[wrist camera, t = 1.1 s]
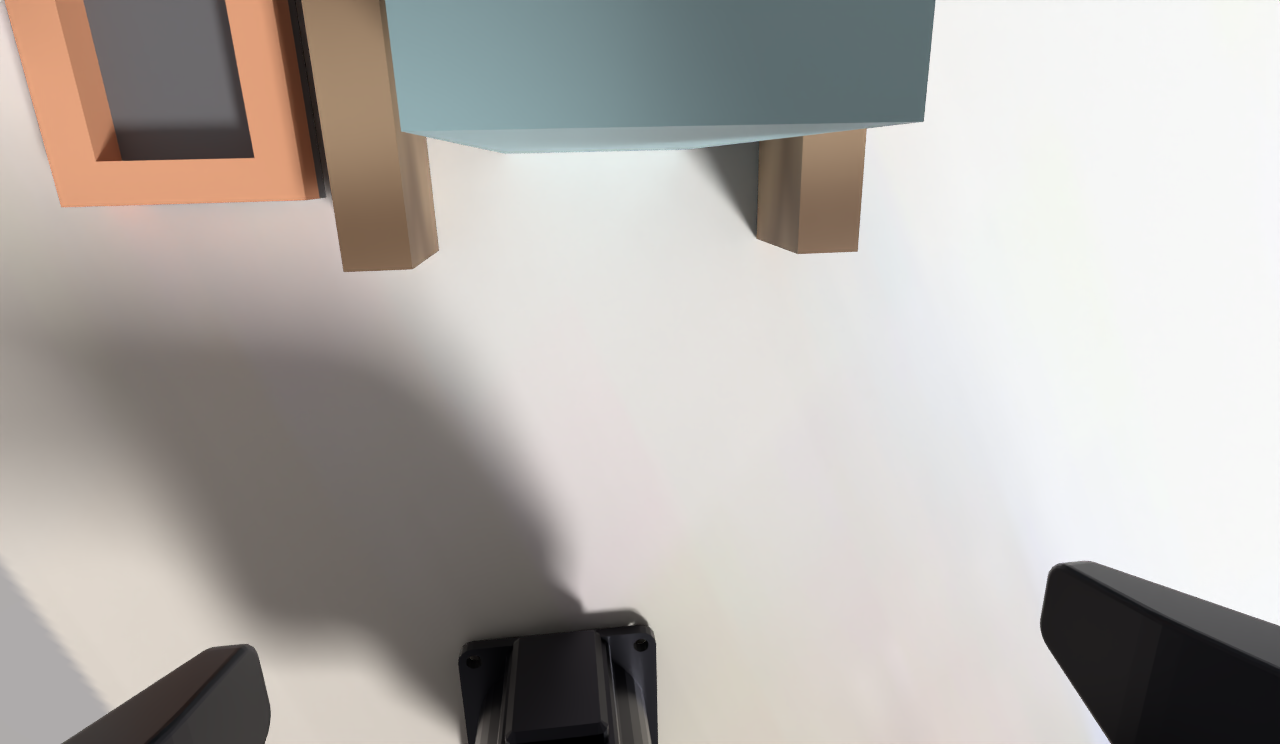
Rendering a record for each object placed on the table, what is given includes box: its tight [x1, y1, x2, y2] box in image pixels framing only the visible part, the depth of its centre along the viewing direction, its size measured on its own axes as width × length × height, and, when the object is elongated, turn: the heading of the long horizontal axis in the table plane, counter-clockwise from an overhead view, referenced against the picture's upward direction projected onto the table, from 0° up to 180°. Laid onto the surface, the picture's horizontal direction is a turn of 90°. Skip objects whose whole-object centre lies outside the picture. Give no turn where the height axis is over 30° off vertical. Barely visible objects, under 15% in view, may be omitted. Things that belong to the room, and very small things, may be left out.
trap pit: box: [5, 0, 326, 207], centre depth 15 cm, size 9×6×2 cm, turn 1°
